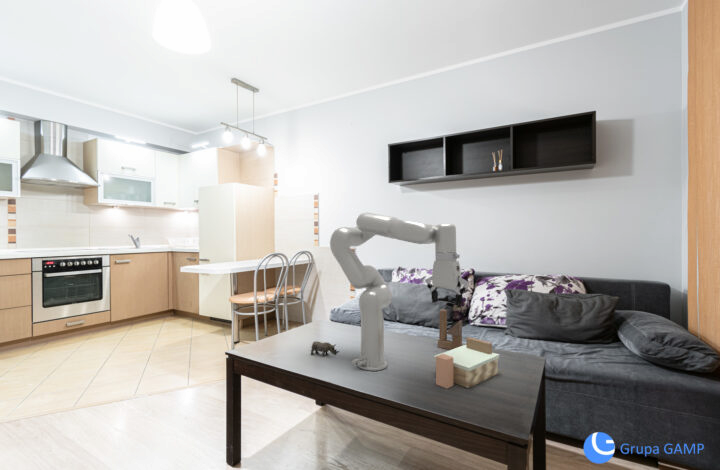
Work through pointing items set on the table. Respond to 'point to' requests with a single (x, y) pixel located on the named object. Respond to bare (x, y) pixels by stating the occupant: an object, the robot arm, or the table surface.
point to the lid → (472, 354)
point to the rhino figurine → (323, 348)
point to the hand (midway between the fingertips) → (446, 303)
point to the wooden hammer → (449, 332)
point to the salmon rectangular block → (444, 371)
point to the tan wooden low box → (475, 374)
